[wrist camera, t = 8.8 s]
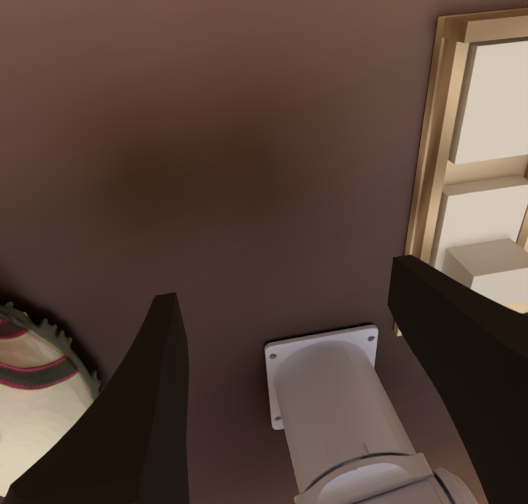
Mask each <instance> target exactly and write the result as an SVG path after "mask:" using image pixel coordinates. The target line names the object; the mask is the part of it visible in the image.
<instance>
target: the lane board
mask: <svg viewBox="0 0 528 504" xmlns="http://www.w3.org/2000/svg"><path fill="white" fill-rule="evenodd" d="M526 36H528V8H519V9H509V10H499V11H489V12H479V13H469V14H459V15H449V16H440V17H438V22H437V29H436V36H435V43H434V50H433V57H432V64H431V71H430V78H429V85H428V92H427V99H426V106H425V113H424V120H423V127H422V134H421V141H420V148H419V156H418V163H417V170H416V177H415V184H414V191H413V198H412V205H411V212H410V219H409V226H408V233H407V240H406V247H405V254H404V256H405V255H413V256H415V257H416V258H418V259H420V260H422V261H424V262H425V263H427V264H429V259H430V254H431V248H432V243H433V238H434V232H435V227H436V221H437V216H438V210H439V205H440V199H441V194H442V189H443V186H446V185H453V184H460V183H467V182H474V181H481V180H488V179H495V178H501V177H508V176H515V175H521V176H522V177H524V178H526V179H527V180H528V154H526V155H519V156H512V157H505V158H497V159H490V160H483V161H476V162H469V163H462V164H453V163H452V162H450V161H449V160H448V156H449V150H450V145H451V140H452V134H453V129H454V123H455V118H456V112H457V107H458V101H459V96H460V91H461V85H462V80H463V74H464V69H465V63H466V58H467V52H468V47H469V43H470V42H479V41H489V40H498V39H507V38H516V37H526ZM516 244H518V245H519V246H520V247H521V248H523V249H524V250H525V251H526V252H528V205H527V208H526V211H525V214H524V217H523V221H522V224H521V227H520V230H519V233H518V236H517V240H516ZM503 306H506V307H508V308H510V309H512V310H515V311H517V312H519V313H526V312H528V301H524V302H518V303H513V304H507V305H503ZM394 331H395V333H396V335H397V336H400V335H402V334H401V332H400V330H399V328H398V326H397V324H396V322H395V325H394Z"/></svg>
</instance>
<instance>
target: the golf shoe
mask: <svg viewBox="0 0 528 504" xmlns="http://www.w3.org/2000/svg"><path fill="white" fill-rule="evenodd" d="M13 305H14V303H13V302H8V303H7V304H6V305H5V306H4V305H0V496H3V497H5V496H6V494H7V492H8V489H9V487H10V485H11V484H12V483H13V482H14V481H15V480H16V479H18V478H19V477H20V476H21V475H22V474H23V473H24V472H25V471H27V470H28V469H29V468H30V467H31V466H32V465H33V464H34V463H36V462H37V461H38V460H39V459H40V458H41V457H42V456H43V455H45V454H46V453H47V452H48V451H49V450H50V449H51V448H52V447H53V446H54V445H55V444H56V443H57V442H58V441H59V440H60V439H61V438H62V437H63V436H64V434H65V433H66V432H67V431H68V430H69V429H70V428H71V427H72V426H73V425H74V424H75V423H76V422H77V421H78V420H79V418H80V417H81V416H82V415H83V414H84V413H85V411H86V410H87V409H88V408H89V406H90V405H91V404H92V403H93V402H94V400H95V399H96V398H97V397H98V395H99V394H100V393H101V391H102V390H103V389H104V388H102V387H100V384H101V380H100V379H97V377H96V375H97V372H96V371H93V372H90V373H89V372H88V370H87V369H86V367H85V366H84V364H83V362H82V361H81V360H80V358H79V357H78V356H77V355H76V354H75V353H74V352H73V351H72V350H71V348H70V347H71V342H72V338H71V337H66V336H65V335H64V331H63V330H61V331H59V332H56V329H57V325H55V324H53V325H50V324H48V320H47V319H43V320H42V321H41V322H40V324H39V325H38V326H37V325H35V324H34V323H33V322H32V321H31V319H30V318H29V317H28V315H27V313H26V312H21V311H19V310H17V309H14V308H13Z"/></svg>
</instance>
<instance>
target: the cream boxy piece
mask: <svg viewBox="0 0 528 504" xmlns="http://www.w3.org/2000/svg"><path fill="white" fill-rule="evenodd" d="M526 154H528V36H526V37H516V38H507V39H498V40H489V41H479V42H470V43H469V47H468V52H467V58H466V63H465V69H464V74H463V80H462V85H461V91H460V96H459V101H458V107H457V112H456V118H455V123H454V129H453V134H452V140H451V145H450V150H449V156H448V160H449V161H450V162H452V163H453V164H462V163H469V162H476V161H483V160H490V159H497V158H505V157H512V156H519V155H526ZM527 205H528V180H527V179H526V178H524V177H522V176H521V175H515V176H508V177H501V178H495V179H488V180H481V181H474V182H467V183H460V184H453V185H446V186H443V189H442V194H441V199H440V205H439V210H438V216H437V221H436V227H435V232H434V238H433V243H432V248H431V254H430V259H429V265H430V266H432V267H434V268H435V269H437V270H439V271H440V272H442V273H444V274H445V275H447V276H449V277H451V278H452V279H454V280H456V281H457V282H459V283H461V284H463V285H465V286H466V287H468V288H470V289H472V290H474V291H476V292H477V293H479V294H481V295H483V296H485V297H487V298H489V299H491V300H493V301H495V302H497V303H499V304H501V305H507V304H513V303H518V302H524V301H528V252H526V251H525V250H524V249H523V248H521V247H520V246H519V245H518V244H516V240H517V236H518V233H519V230H520V227H521V224H522V221H523V217H524V214H525V211H526V208H527Z"/></svg>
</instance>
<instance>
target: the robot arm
mask: <svg viewBox="0 0 528 504" xmlns="http://www.w3.org/2000/svg"><path fill="white" fill-rule="evenodd" d="M388 306H389V309H390V311H391V313H392V316H393V318H394V320H395V322H396V324H397V326H398V328H399V330H400V332H401V334H402V335H403V337H404V339H405V340H406V342H407V343H408V345H409V346H410V348H411V350H412V351H413V353H414V354H415V356H416V357H417V359H418V361H419V362H420V364H421V365H422V367H423V368H424V370H425V371H426V373H427V375H428V376H429V378H430V379H431V381H432V382H433V384H434V386H435V387H436V389H437V391H438V393H439V394H440V396H441V398H442V400H443V402H444V404H445V406H446V408H447V410H448V412H449V414H450V416H451V418H452V420H453V422H454V424H455V427H456V429H457V431H458V433H459V435H460V437H461V439H462V441H463V444H464V446H465V448H466V450H467V452H468V455H469V457H470V459H471V462H472V464H473V466H474V469H475V471H476V473H477V476H478V478H479V480H480V482H481V485H482V487H483V490H484V493H485V495H486V498H487V500H488V503H489V504H528V316H526V315H524V314H522V313H519V312H517V311H515V310H512V309H510V308H508V307H506V306H503V305H501V304H499V303H497V302H495V301H493V300H491V299H489V298H487V297H485V296H483V295H481V294H479V293H477V292H476V291H474V290H472V289H470V288H468V287H466V286H465V285H463V284H461V283H459V282H457V281H456V280H454V279H452V278H451V277H449V276H447V275H445V274H444V273H442V272H440V271H439V270H437V269H435V268H434V267H432V266H430V265H429V264H427V263H425V262H424V261H422V260H420V259H418V258H416V257H415V256H413V255H405V256H399V257H393V264H392V272H391V280H390V288H389V296H388ZM370 336H371V337H370ZM377 338H378V329H377V327H376V326H375V325H367V326H361V327H355V328H350V329H344V330H338V331H333V332H327V333H321V334H316V335H310V336H305V337H299V338H293V339H288V340H282V341H276V342H271V343H268V344H267V345H266V346H265V348H264V350H265V360H266V370H267V381H268V391H269V401H270V411H271V421H272V427H273V429H275V430H280V429H284V430H285V434H286V439H287V443H288V447H289V451H290V456H291V460H292V464H293V468H294V473H295V477H296V481H297V485H298V489H299V495H297V496H295V497H294V501H295V504H478V503H477V501H476V499H475V498H474V496H473V495H472V493H471V492H470V490H469V489H468V487H467V486H466V485H465V483H464V482H463V481H462V480H461V479H460V478H459V477H458V476H456V475H454V474H452V473H450V472H449V471H447V470H446V469H445V468H442V467H440V468H437V469H435V470H433V471H432V470H431V469H430V467H429V465H428V463H427V461H426V459H425V457H424V455H423V453H417V454H416V452H415V450H414V448H413V446H412V444H411V442H410V440H409V438H408V436H407V434H406V432H405V430H404V428H403V426H402V424H401V422H400V420H399V418H398V416H397V414H396V412H395V410H394V408H393V406H392V404H391V402H390V400H389V398H388V396H387V394H386V392H385V390H384V388H383V386H382V384H381V382H380V380H379V378H378V376H377V374H376V372H375V370H374V365H375V356H376V347H377ZM271 354H273V355H271ZM188 383H189V359H188V345H187V337H186V333H185V329H184V324H183V320H182V316H181V312H180V308H179V304H178V300H177V295H176V293H169V294H163V295H157V296H156V297H155V298H154V299H153V302H152V304H151V307H150V309H149V311H148V314H147V316H146V318H145V320H144V322H143V324H142V326H141V328H140V330H139V332H138V334H137V336H136V338H135V340H134V342H133V344H132V345H131V347H130V349H129V351H128V352H127V354H126V355H125V357H124V359H123V360H122V362H121V364H120V365H119V367H118V369H117V370H116V372H115V373H114V375H113V376H112V378H111V379H110V380H109V382H108V383H107V385H106V386H105V387H104V389H103V390H102V391H101V393H100V394H99V395H98V397H97V398H96V399H95V400H94V402H93V403H92V404H91V405H90V406H89V408H88V409H87V410H86V411H85V413H84V414H83V415H82V416H81V417H80V418H79V420H78V421H77V422H76V423H75V424H74V425H73V426H72V427H71V428H70V429H69V430H68V431H67V432H66V433H65V434H64V436H63V437H62V438H61V439H60V440H59V441H58V442H57V443H56V444H55V445H54V446H53V447H52V448H51V449H50V450H49V451H48V452H47V453H46V454H45V455H43V456H42V457H41V458H40V459H39V460H38V461H37V462H36V463H34V464H33V465H32V466H31V467H30V468H29V469H28V470H27V471H25V472H24V473H23V474H22V475H21V476H20V477H19V478H18V479H16V480H15V481H14V482H13V483H12V484H11V485H10V487H9V489H8V492H7V494H6V496H5V498H4V500H3V502H2V504H190V503H189V486H188V469H187V451H186V427H187V405H188Z"/></svg>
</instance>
